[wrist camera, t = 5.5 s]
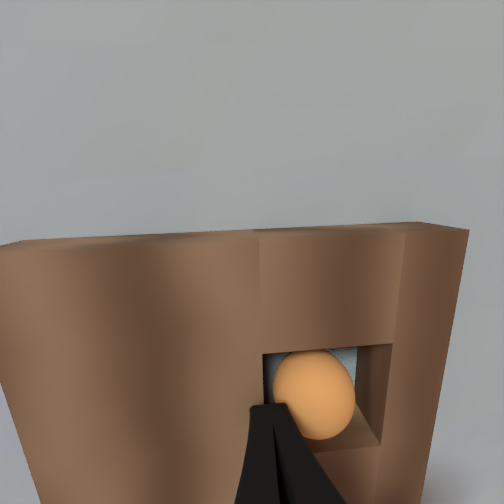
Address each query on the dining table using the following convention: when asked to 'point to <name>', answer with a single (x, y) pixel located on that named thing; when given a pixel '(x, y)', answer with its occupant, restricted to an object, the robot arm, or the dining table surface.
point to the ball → (315, 392)
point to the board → (221, 354)
